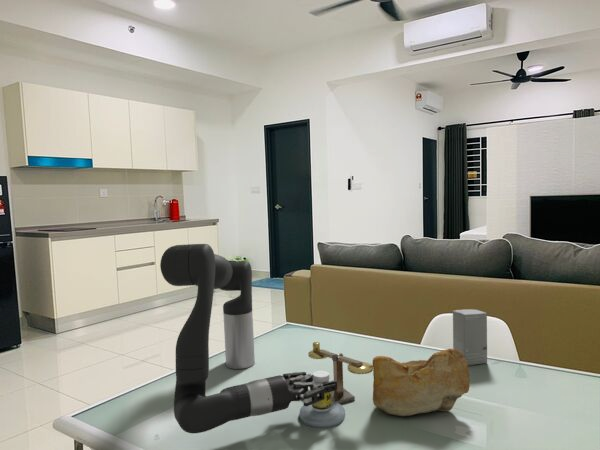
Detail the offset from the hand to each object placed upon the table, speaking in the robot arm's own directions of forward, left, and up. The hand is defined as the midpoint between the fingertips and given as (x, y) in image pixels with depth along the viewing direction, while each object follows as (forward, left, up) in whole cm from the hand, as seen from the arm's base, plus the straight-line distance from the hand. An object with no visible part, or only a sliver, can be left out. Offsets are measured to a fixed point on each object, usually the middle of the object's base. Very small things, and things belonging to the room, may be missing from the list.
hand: (330, 380), depth 108 cm
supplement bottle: (0, -3, -6) cm, 7 cm away
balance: (-6, +5, -8) cm, 11 cm away
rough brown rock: (+6, +21, -8) cm, 24 cm away
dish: (0, -3, -8) cm, 8 cm away
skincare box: (-8, +53, -8) cm, 55 cm away
